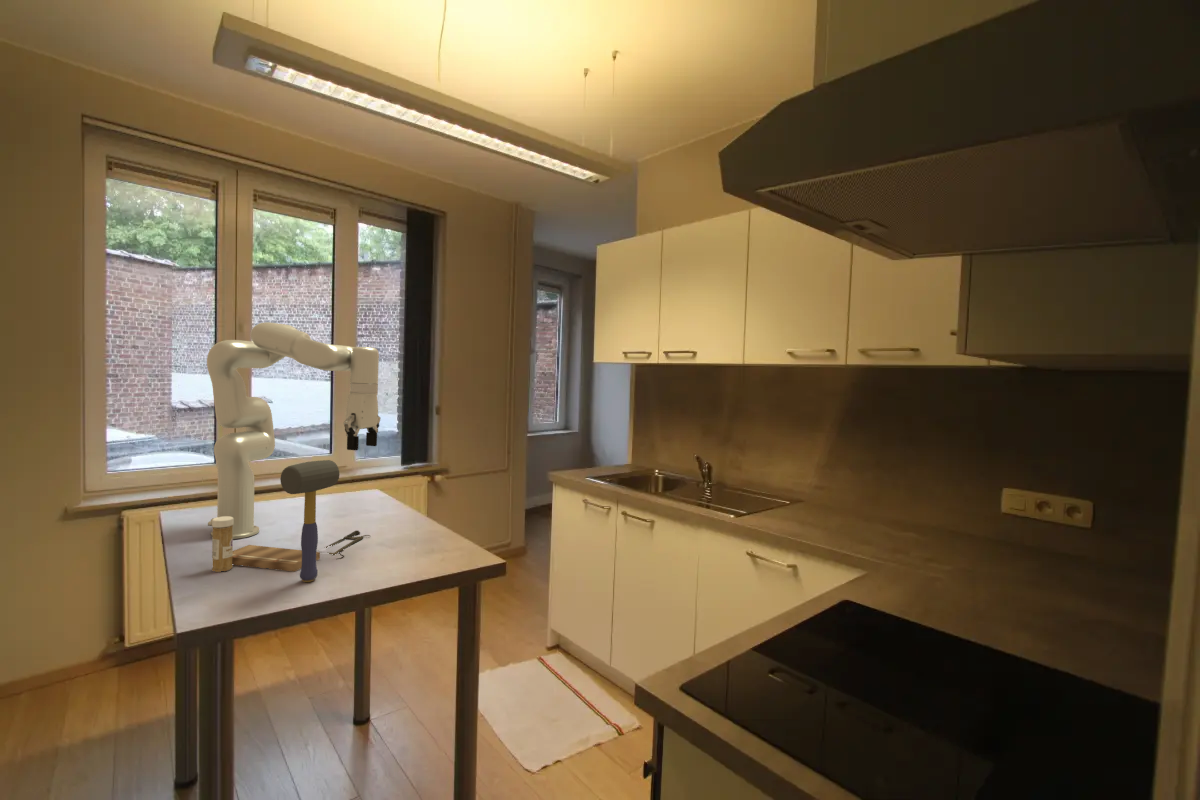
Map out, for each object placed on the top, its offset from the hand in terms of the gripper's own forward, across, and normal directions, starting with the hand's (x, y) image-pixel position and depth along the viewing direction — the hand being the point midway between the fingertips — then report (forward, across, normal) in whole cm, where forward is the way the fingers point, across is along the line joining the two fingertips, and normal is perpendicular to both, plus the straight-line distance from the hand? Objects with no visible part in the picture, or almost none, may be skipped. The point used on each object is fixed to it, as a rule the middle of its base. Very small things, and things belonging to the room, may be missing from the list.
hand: (362, 447), depth 163 cm
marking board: (+30, +16, -16) cm, 38 cm away
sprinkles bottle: (+30, +24, -23) cm, 45 cm away
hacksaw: (+31, -2, -5) cm, 31 cm away
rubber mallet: (+30, +26, +2) cm, 40 cm away
